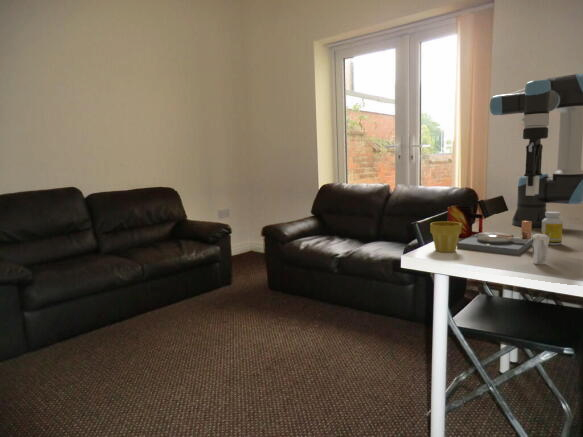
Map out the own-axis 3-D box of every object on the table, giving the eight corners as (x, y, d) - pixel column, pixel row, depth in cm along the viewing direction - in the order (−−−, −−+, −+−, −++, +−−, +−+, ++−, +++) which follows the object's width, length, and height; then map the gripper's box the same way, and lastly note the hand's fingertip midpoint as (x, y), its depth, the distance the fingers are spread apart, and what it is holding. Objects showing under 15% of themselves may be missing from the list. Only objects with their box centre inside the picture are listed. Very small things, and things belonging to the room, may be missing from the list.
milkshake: (543, 266, 125) (545, 233, 124) (527, 262, 130) (528, 230, 129) (554, 264, 127) (556, 232, 126) (537, 261, 132) (539, 229, 130)
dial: (472, 241, 153) (473, 220, 152) (482, 236, 162) (483, 216, 161) (526, 247, 141) (527, 224, 140) (534, 241, 150) (535, 219, 149)
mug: (481, 239, 167) (482, 209, 165) (445, 237, 173) (445, 208, 172) (484, 235, 175) (485, 206, 173) (449, 233, 182) (449, 205, 180)
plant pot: (424, 251, 149) (425, 224, 148) (436, 246, 157) (437, 220, 155) (454, 255, 142) (455, 226, 141) (465, 249, 150) (466, 222, 149)
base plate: (475, 239, 168) (475, 233, 167) (532, 244, 155) (532, 238, 154) (456, 248, 153) (457, 242, 152) (518, 255, 140) (518, 248, 139)
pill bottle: (564, 245, 152) (566, 213, 150) (544, 245, 153) (546, 213, 152) (557, 241, 158) (559, 211, 157) (538, 241, 160) (539, 211, 158)
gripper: (529, 128, 155) (526, 192, 158) (517, 127, 141) (513, 196, 145) (553, 127, 150) (549, 192, 153) (542, 125, 136) (538, 197, 140)
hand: (532, 194), depth 149 cm, fingers open, 5 cm apart
